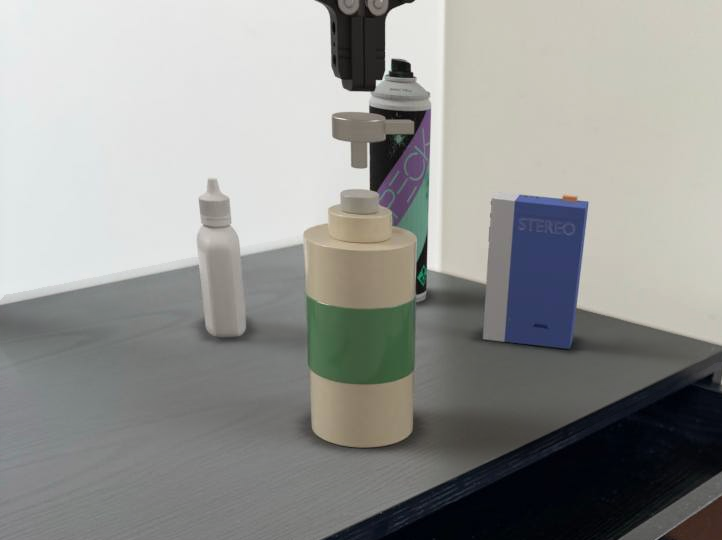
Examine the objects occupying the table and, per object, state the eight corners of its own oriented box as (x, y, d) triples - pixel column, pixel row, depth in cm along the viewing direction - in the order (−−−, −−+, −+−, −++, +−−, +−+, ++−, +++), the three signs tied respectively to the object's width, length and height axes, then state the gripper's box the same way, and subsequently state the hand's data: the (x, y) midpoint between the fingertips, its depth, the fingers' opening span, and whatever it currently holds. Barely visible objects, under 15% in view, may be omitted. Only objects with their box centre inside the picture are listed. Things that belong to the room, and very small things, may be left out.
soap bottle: (327, 453, 65) (318, 208, 56) (299, 412, 71) (287, 181, 62) (428, 441, 68) (435, 204, 59) (393, 402, 73) (395, 179, 64)
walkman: (572, 339, 87) (589, 196, 80) (569, 349, 85) (586, 203, 78) (487, 329, 88) (496, 187, 81) (481, 339, 86) (490, 193, 79)
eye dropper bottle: (187, 334, 83) (169, 182, 76) (218, 315, 87) (203, 169, 80) (234, 342, 82) (221, 188, 75) (263, 322, 86) (252, 175, 79)
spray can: (359, 292, 95) (356, 56, 84) (403, 284, 98) (405, 55, 87) (393, 307, 92) (395, 63, 80) (437, 298, 95) (445, 62, 83)
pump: (341, 172, 58) (340, 120, 56) (326, 162, 60) (325, 111, 58) (420, 171, 60) (421, 120, 58) (402, 161, 62) (403, 111, 60)
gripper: (450, -287, 52) (439, 83, 62) (199, -327, 47) (231, 80, 57) (508, -309, 47) (486, 100, 57) (231, -357, 42) (261, 98, 52)
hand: (358, 89), depth 57 cm, fingers closed
